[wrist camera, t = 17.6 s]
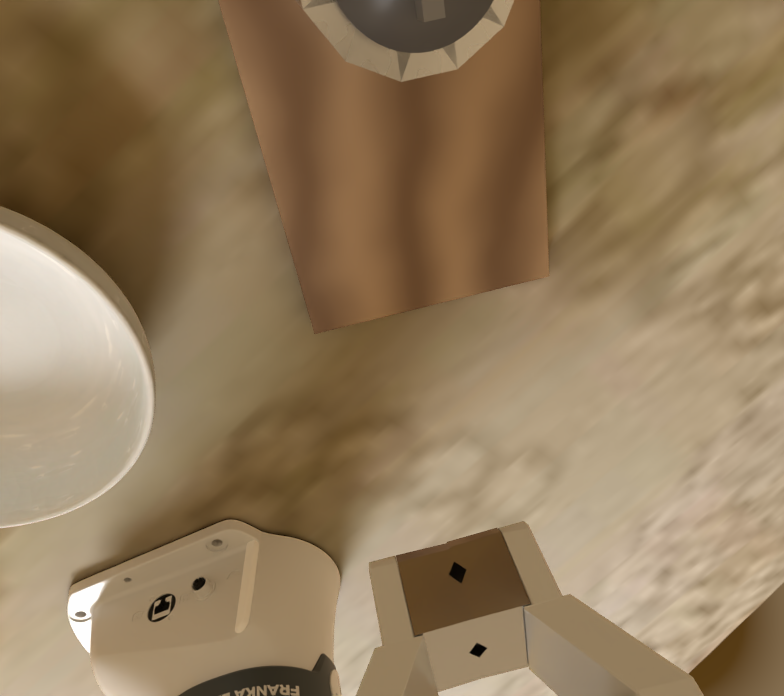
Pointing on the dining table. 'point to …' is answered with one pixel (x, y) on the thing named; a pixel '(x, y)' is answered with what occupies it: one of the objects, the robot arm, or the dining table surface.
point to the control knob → (414, 21)
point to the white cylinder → (394, 63)
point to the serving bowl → (65, 376)
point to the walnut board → (397, 164)
